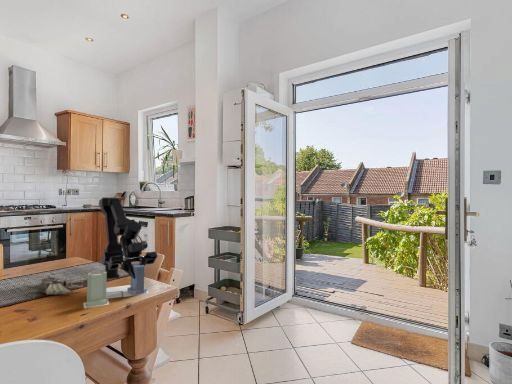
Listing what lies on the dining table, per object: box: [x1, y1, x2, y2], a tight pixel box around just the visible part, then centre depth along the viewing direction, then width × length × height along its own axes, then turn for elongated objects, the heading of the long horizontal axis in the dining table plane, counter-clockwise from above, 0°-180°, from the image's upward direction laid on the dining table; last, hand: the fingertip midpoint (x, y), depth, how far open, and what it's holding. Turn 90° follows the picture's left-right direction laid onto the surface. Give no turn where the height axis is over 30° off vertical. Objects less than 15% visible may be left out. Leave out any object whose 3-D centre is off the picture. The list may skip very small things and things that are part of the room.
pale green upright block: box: [86, 271, 108, 307], centre depth 107 cm, size 6×4×11 cm, turn 122°
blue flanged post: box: [127, 262, 148, 296], centre depth 120 cm, size 6×6×11 cm
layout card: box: [82, 284, 150, 310], centre depth 117 cm, size 21×23×1 cm
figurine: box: [22, 275, 84, 296], centre depth 118 cm, size 20×6×17 cm
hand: (138, 277), depth 119 cm, fingers closed on blue flanged post, 3 cm apart
